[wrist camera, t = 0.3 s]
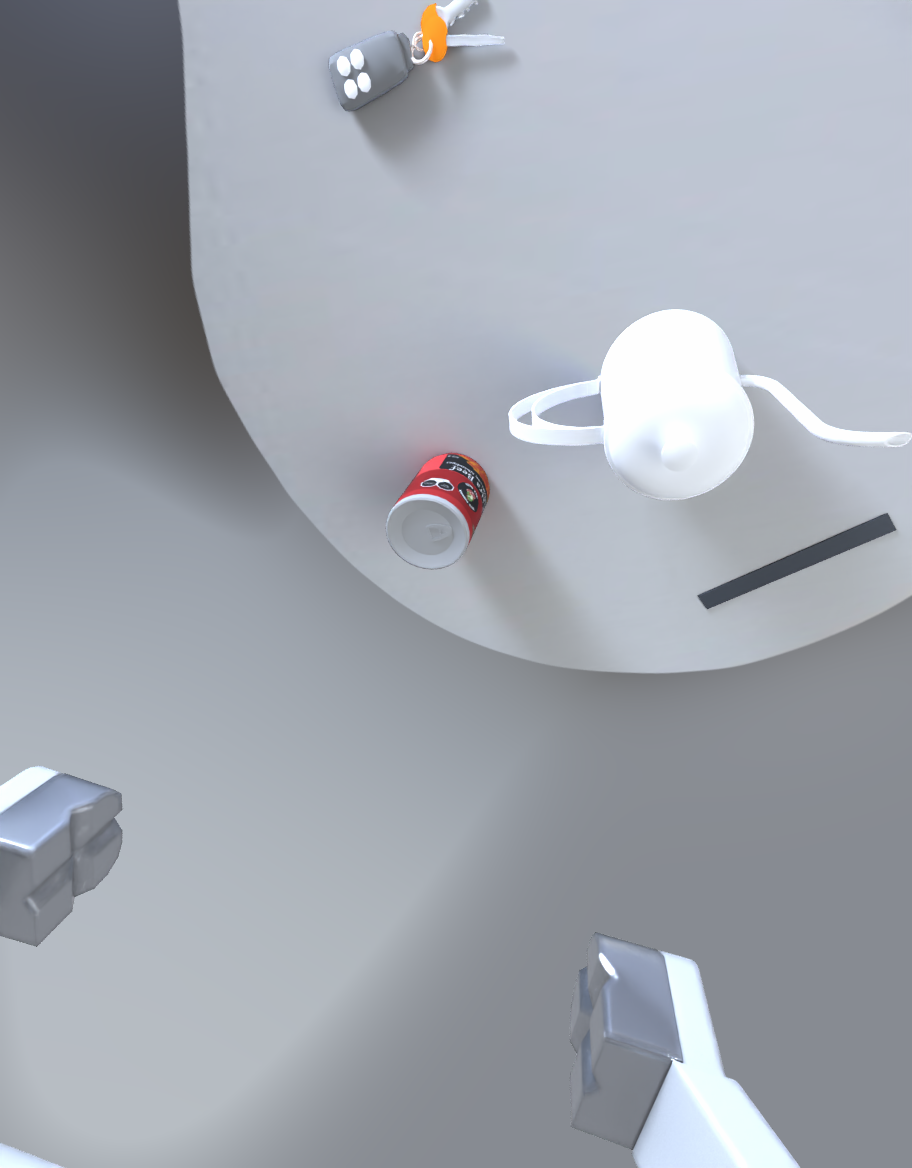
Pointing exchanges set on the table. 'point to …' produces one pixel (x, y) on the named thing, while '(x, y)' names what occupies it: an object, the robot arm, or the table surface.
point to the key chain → (397, 55)
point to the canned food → (438, 512)
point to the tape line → (799, 560)
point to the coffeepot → (674, 409)
